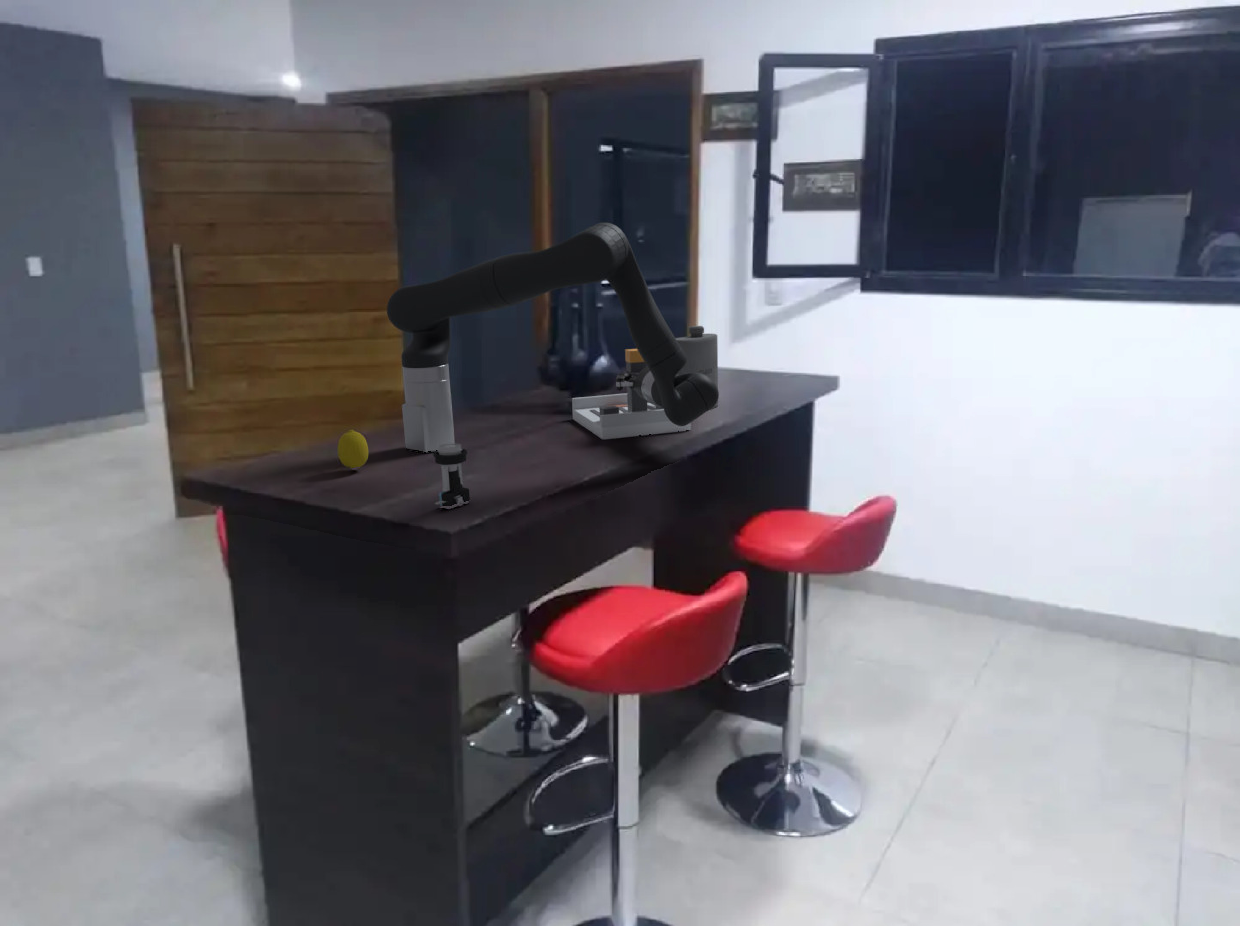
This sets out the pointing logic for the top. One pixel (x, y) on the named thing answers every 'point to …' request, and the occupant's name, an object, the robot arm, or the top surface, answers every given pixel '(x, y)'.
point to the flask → (700, 354)
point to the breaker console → (620, 417)
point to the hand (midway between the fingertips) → (632, 375)
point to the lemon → (352, 449)
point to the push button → (451, 474)
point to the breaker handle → (636, 365)
